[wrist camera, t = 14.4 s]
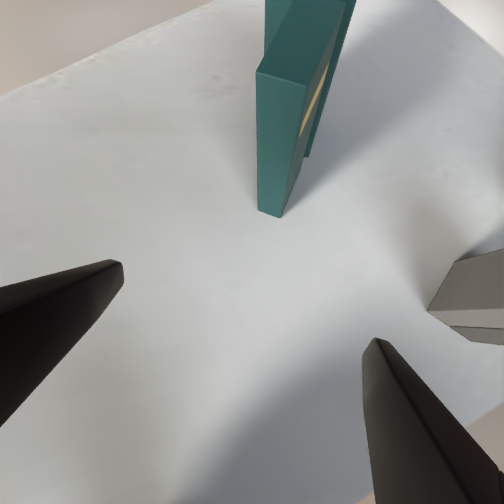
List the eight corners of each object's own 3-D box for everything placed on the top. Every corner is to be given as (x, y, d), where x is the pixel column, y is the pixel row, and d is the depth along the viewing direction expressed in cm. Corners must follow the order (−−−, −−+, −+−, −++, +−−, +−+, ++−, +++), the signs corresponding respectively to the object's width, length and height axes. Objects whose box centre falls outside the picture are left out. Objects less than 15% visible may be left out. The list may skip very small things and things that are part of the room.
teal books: (308, 157, 25) (364, -25, 12) (262, 146, 26) (265, -41, 12) (320, 116, 27) (383, -92, 13) (276, 106, 27) (293, -104, 14)
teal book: (280, 218, 24) (308, 87, 10) (257, 210, 24) (254, 71, 10) (299, 172, 25) (347, 0, 11) (277, 165, 25) (298, -12, 12)
